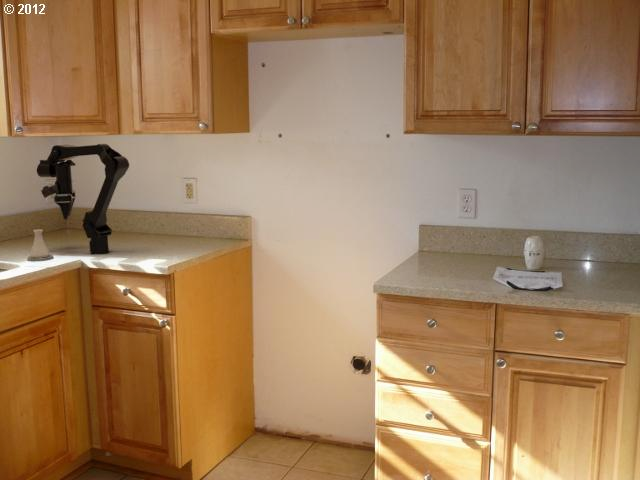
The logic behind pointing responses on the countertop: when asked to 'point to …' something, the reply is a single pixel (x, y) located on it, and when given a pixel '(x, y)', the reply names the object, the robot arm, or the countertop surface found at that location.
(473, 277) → the countertop surface
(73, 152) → the robot arm
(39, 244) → the flask
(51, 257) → the slate coaster
